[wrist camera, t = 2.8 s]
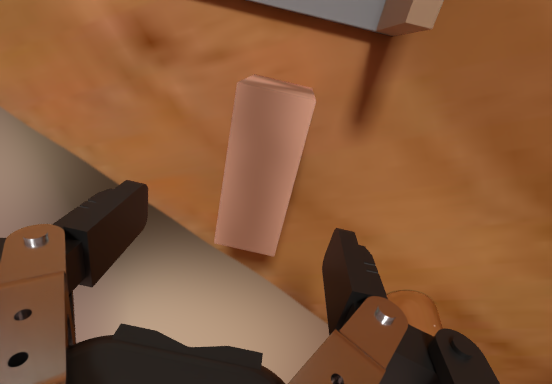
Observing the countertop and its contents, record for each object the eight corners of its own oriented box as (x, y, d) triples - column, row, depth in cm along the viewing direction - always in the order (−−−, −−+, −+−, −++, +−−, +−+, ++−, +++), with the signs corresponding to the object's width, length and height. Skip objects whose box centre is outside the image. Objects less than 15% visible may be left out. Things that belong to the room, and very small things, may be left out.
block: (312, 87, 19) (315, 101, 14) (280, 210, 24) (274, 256, 19) (255, 74, 19) (237, 82, 14) (233, 200, 24) (214, 243, 18)
